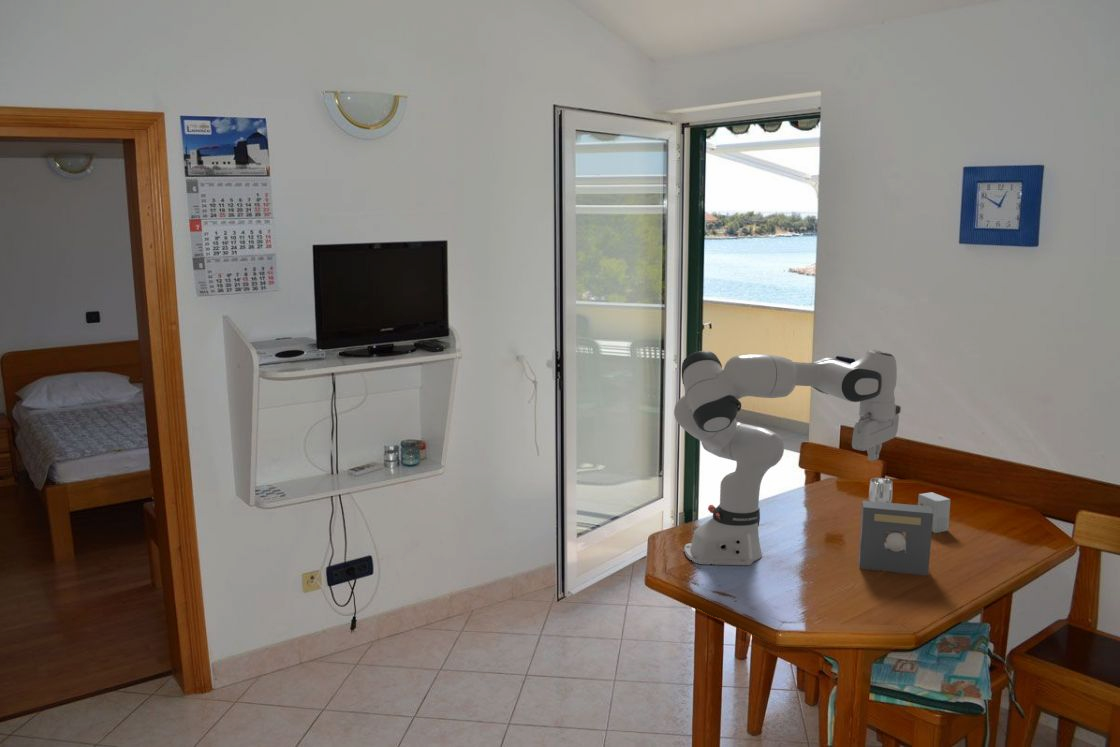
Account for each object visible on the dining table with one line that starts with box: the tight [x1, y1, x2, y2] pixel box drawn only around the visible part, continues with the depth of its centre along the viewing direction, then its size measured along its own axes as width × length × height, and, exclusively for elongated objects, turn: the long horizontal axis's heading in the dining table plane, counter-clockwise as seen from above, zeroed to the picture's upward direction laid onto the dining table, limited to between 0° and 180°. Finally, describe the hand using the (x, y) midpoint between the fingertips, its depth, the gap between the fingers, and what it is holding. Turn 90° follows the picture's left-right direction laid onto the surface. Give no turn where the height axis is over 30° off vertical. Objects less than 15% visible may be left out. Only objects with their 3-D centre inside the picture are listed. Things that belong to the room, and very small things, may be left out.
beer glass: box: [868, 477, 893, 503], centre depth 282 cm, size 7×7×15 cm
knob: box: [885, 530, 906, 552], centre depth 251 cm, size 11×5×5 cm, turn 164°
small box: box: [917, 491, 951, 534], centre depth 281 cm, size 8×6×10 cm
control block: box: [858, 500, 933, 577], centre depth 249 cm, size 6×18×18 cm, turn 74°
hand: (873, 459), depth 243 cm, fingers closed
